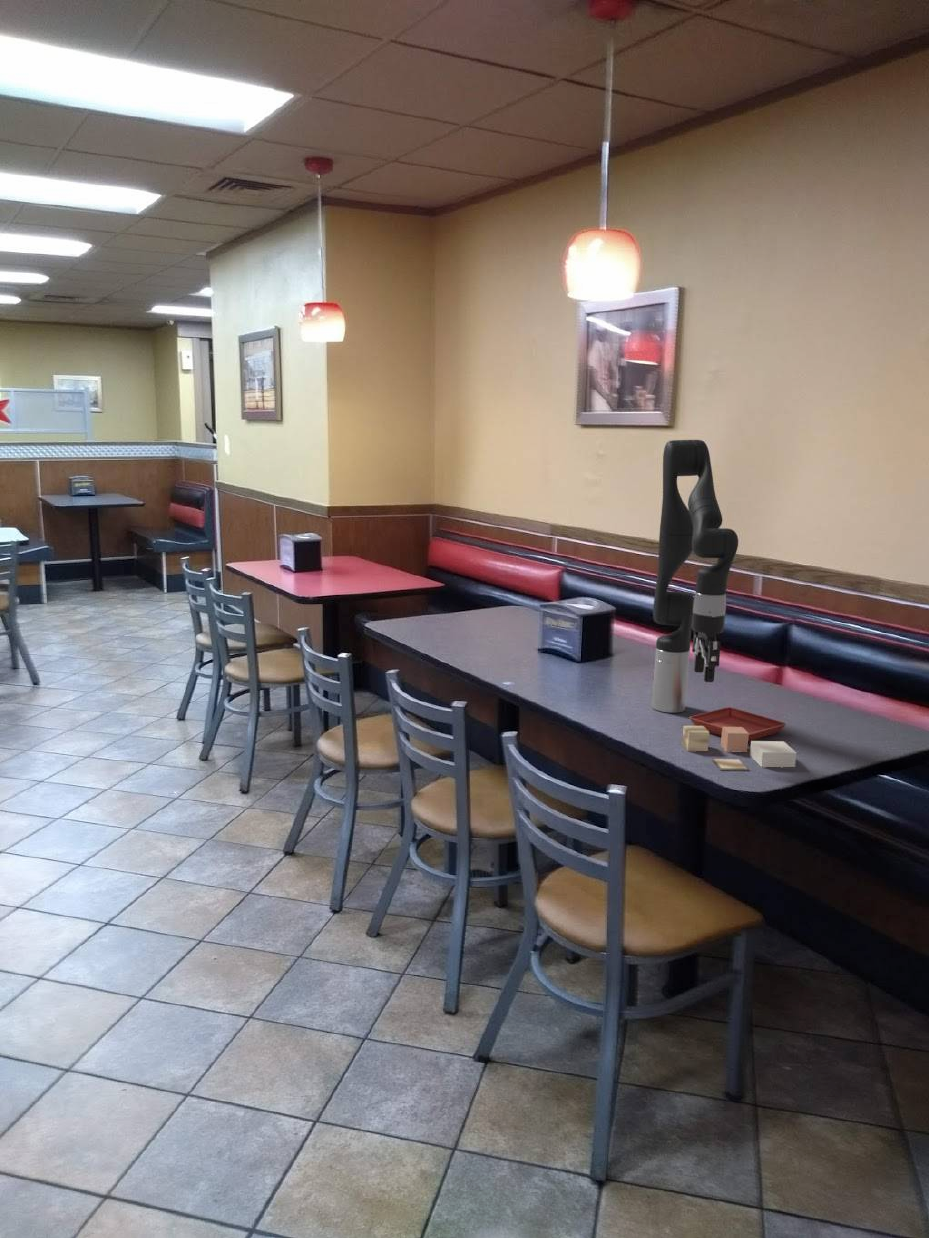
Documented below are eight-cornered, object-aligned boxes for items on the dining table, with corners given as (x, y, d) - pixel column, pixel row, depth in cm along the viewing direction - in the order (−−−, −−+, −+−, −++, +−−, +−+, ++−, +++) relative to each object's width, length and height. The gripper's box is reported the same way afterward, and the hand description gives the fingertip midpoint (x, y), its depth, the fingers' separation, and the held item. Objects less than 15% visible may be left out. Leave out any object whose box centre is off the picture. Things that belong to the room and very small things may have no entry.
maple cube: (682, 744, 230) (683, 725, 229) (701, 745, 230) (703, 725, 229) (687, 751, 225) (689, 732, 224) (707, 751, 226) (709, 732, 225)
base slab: (749, 756, 224) (751, 740, 223) (782, 757, 224) (783, 741, 223) (761, 768, 216) (762, 752, 215) (794, 769, 216) (796, 752, 215)
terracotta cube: (720, 745, 230) (722, 726, 229) (740, 746, 230) (742, 727, 229) (726, 752, 225) (728, 733, 224) (746, 753, 225) (748, 733, 224)
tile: (711, 760, 219) (711, 758, 219) (739, 760, 220) (740, 758, 220) (720, 770, 213) (720, 768, 213) (749, 770, 213) (749, 769, 213)
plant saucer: (728, 717, 255) (729, 705, 254) (786, 734, 241) (787, 722, 241) (686, 728, 244) (687, 716, 243) (745, 747, 230) (746, 735, 229)
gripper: (685, 605, 227) (680, 668, 231) (702, 617, 214) (696, 684, 217) (715, 606, 228) (710, 669, 231) (734, 618, 214) (728, 685, 217)
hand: (703, 676), depth 224 cm, fingers open, 8 cm apart
